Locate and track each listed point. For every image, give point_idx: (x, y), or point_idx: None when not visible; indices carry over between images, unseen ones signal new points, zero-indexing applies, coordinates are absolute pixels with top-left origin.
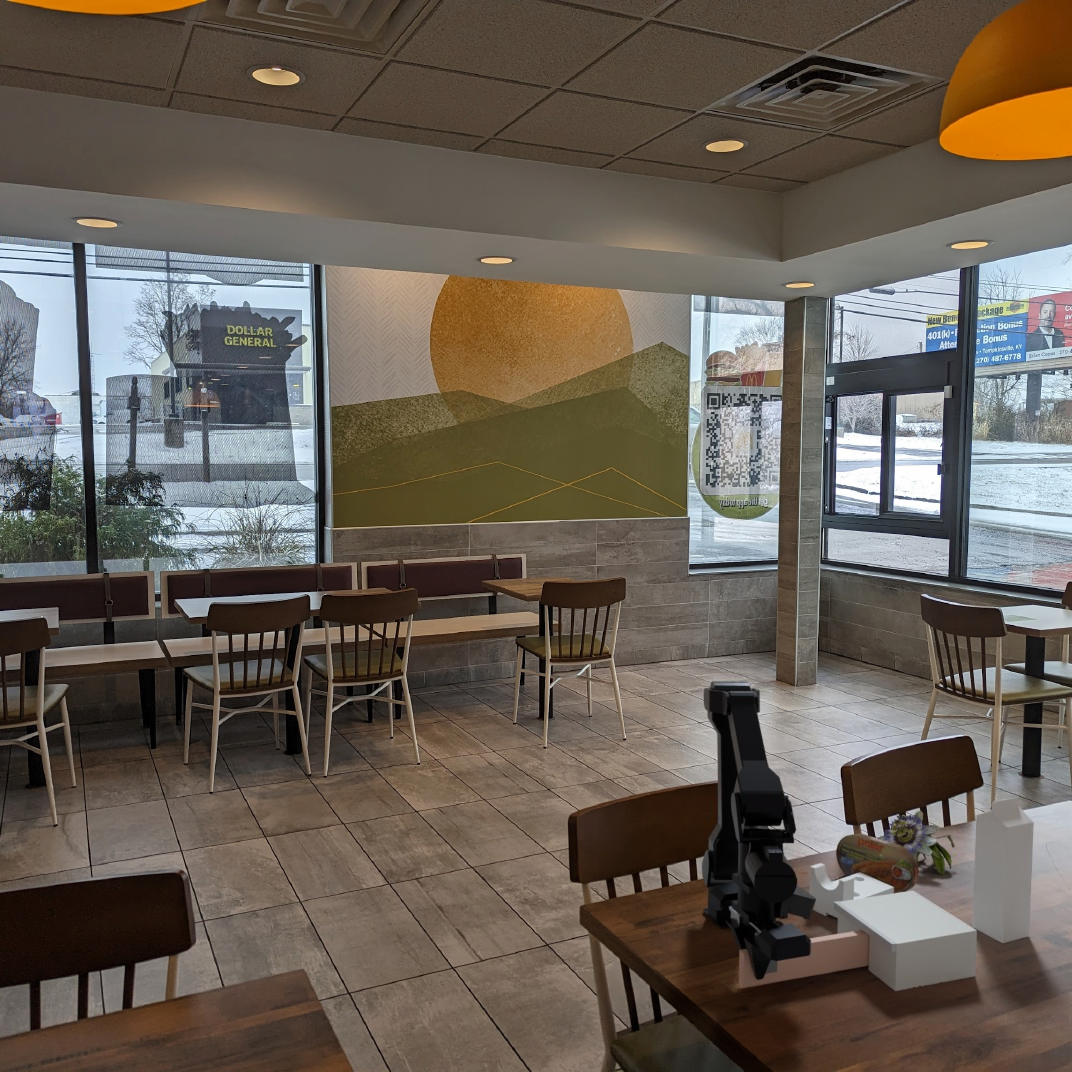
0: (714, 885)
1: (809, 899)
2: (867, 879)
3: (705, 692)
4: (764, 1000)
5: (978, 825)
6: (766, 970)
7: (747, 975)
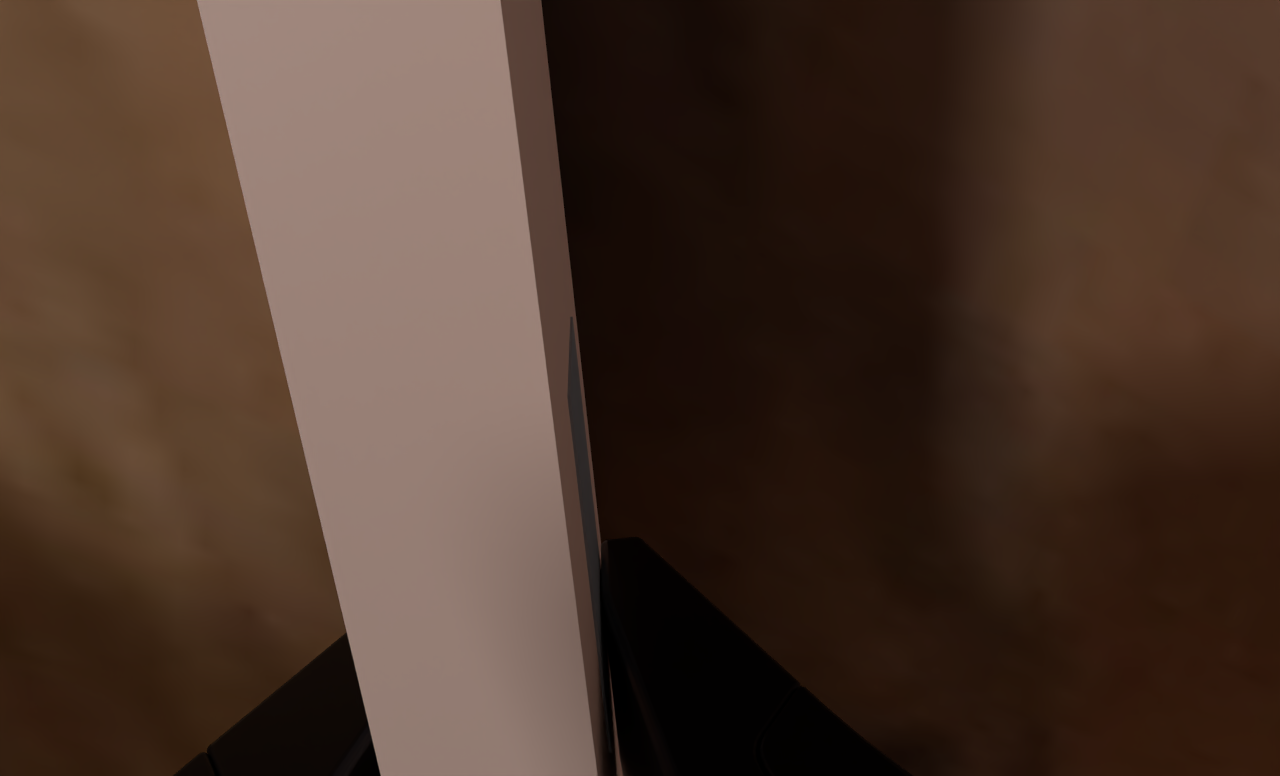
0: None
1: None
2: None
3: None
4: (840, 539)
5: None
6: (695, 588)
7: (620, 763)
